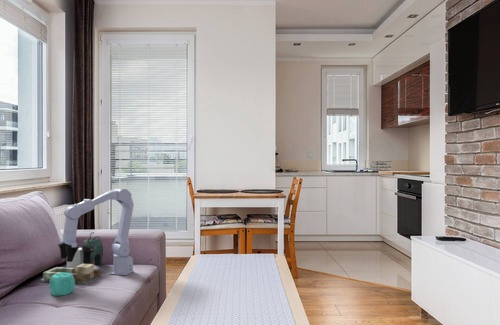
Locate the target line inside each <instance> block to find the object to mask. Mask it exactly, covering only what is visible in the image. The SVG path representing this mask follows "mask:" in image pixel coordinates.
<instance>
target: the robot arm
mask: <svg viewBox="0 0 500 325" xmlns="http://www.w3.org/2000/svg"><path fill="white" fill-rule="evenodd" d="M109 200H114V201H117V202H118V203H119V204H120V205H121V207H122V209H121V214H120V221H119V225H118V226H119V227H118V230H117V236H116V237H115V238H114V241H113V243H112V245H111V251H112V253H113V259H112V260H113V264H112V267H113V270H112V272H109V275H118V276H119V275H120V276H127V275H130V274H131V273H133V272H134V270H133V269H134V259H133V257H132V256H130V255H129V254H130V252H131V247H130V240H129V233H130V228H131V222H132V218H133V217H132V216H133V211H134V201H133V198H132V193H131V192H130V190H128V189H126V188H119V187H116V188H114V189H110V190H108V191H106V192H105V193H103V194H100V195H99V196H97V197H95V198H93V199H90V198H84V199H83V201H81V202H78V203H74V204H73V206H68V207H67V208H66V209H65V211H63V214H64V216H65V218H64V219H65V220H64V227H63V234H62V235H63V236H62V238H60V240H59V243H58V247H59V252H60V258H61V259H62V260H65V259H66V263H67V262H72V261H73V258H74V256H75V253H76V252H77V250H78V249H79V248H80V247H78V243H77V241H76V240H77V230H78V223H79V219H80V217H81V216H82V215H84V214H86V213H88V212H91V211H93V210H94V209H95V207H96V206H99V205H100V204H102V203H104V202H107V201H109Z"/></svg>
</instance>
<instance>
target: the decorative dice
mask: <svg viewBox="0 0 500 325" xmlns="http://www.w3.org/2000/svg"><path fill="white" fill-rule="evenodd" d="M75 285H76V284H75V281H74V277H73V275H72V274H71V273H58V274H55V275H53V276H52V277H51V279H50V282H49V290H50V293H51V295H52V296H56V297H62V296H61V295H63V296H67V295H70V294H72V293H73V291H74V290H75Z"/></svg>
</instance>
